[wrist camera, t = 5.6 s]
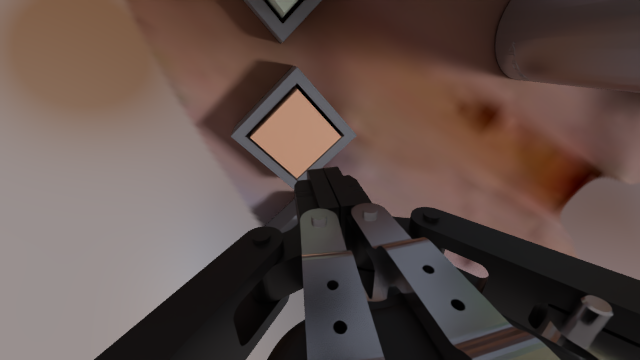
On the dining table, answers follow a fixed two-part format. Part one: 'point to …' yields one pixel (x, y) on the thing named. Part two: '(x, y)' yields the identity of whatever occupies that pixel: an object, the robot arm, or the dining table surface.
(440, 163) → the dining table surface
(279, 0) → the sage green button
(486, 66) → the dining table surface
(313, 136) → the terracotta button
